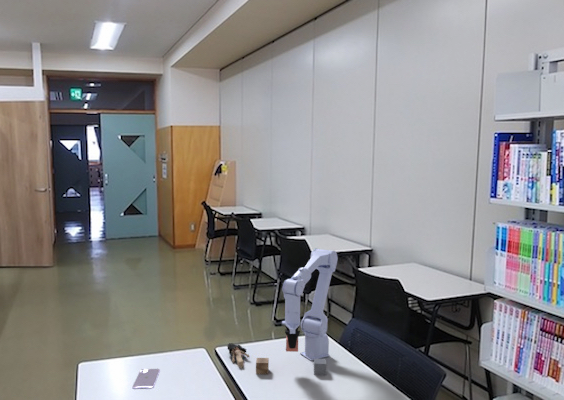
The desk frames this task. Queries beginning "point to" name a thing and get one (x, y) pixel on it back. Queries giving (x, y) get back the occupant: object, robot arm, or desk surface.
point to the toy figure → (237, 353)
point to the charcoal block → (319, 366)
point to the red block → (291, 348)
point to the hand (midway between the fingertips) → (292, 345)
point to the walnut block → (262, 365)
